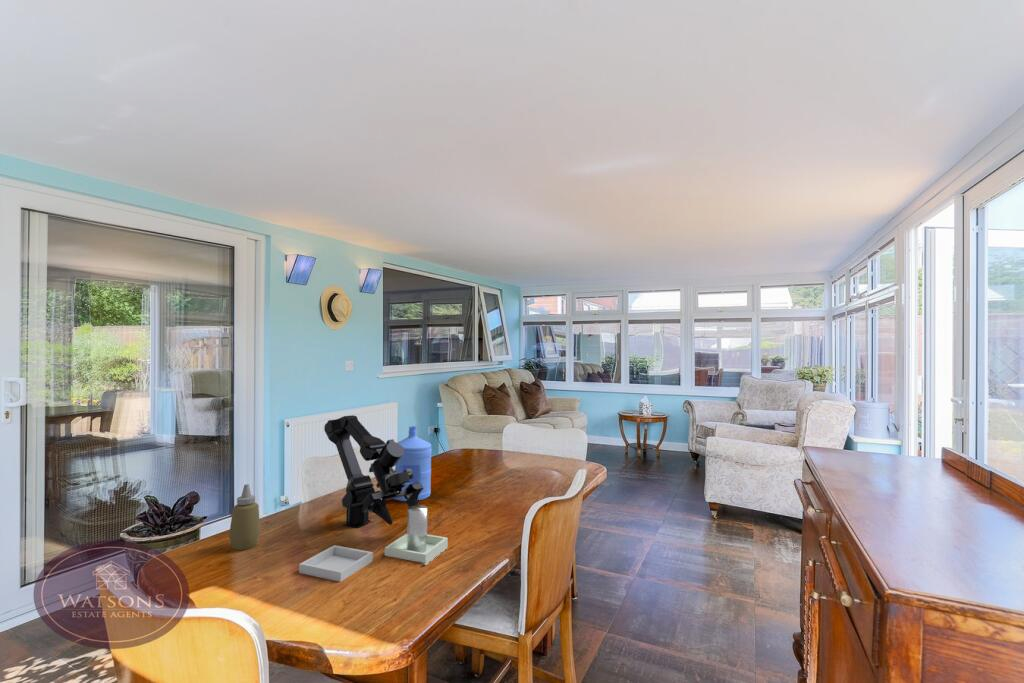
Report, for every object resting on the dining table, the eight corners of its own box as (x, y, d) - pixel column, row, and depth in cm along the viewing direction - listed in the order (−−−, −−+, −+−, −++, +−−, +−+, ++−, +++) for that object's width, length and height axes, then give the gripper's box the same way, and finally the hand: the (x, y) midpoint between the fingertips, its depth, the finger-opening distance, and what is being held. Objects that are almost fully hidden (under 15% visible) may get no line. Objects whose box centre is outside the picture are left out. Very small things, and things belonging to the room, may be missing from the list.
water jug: (412, 488, 201) (413, 423, 202) (438, 495, 192) (440, 426, 193) (382, 497, 189) (384, 427, 190) (409, 504, 179) (411, 431, 180)
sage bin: (384, 558, 132) (384, 547, 132) (409, 541, 144) (409, 531, 144) (425, 565, 127) (425, 554, 127) (447, 547, 140) (447, 537, 140)
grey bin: (298, 575, 120) (299, 563, 121) (334, 555, 133) (334, 545, 133) (340, 584, 116) (340, 572, 116) (372, 563, 128) (373, 552, 128)
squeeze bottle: (266, 543, 140) (268, 482, 141) (242, 554, 133) (245, 489, 133) (245, 539, 143) (248, 480, 144) (221, 549, 135) (224, 486, 136)
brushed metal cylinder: (407, 555, 132) (408, 511, 133) (406, 547, 137) (406, 505, 138) (427, 552, 134) (428, 509, 134) (425, 545, 139) (426, 503, 140)
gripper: (369, 465, 137) (389, 513, 130) (421, 456, 151) (442, 498, 143) (354, 487, 142) (372, 534, 135) (406, 476, 156) (425, 518, 149)
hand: (404, 520), depth 140 cm, fingers open, 9 cm apart
